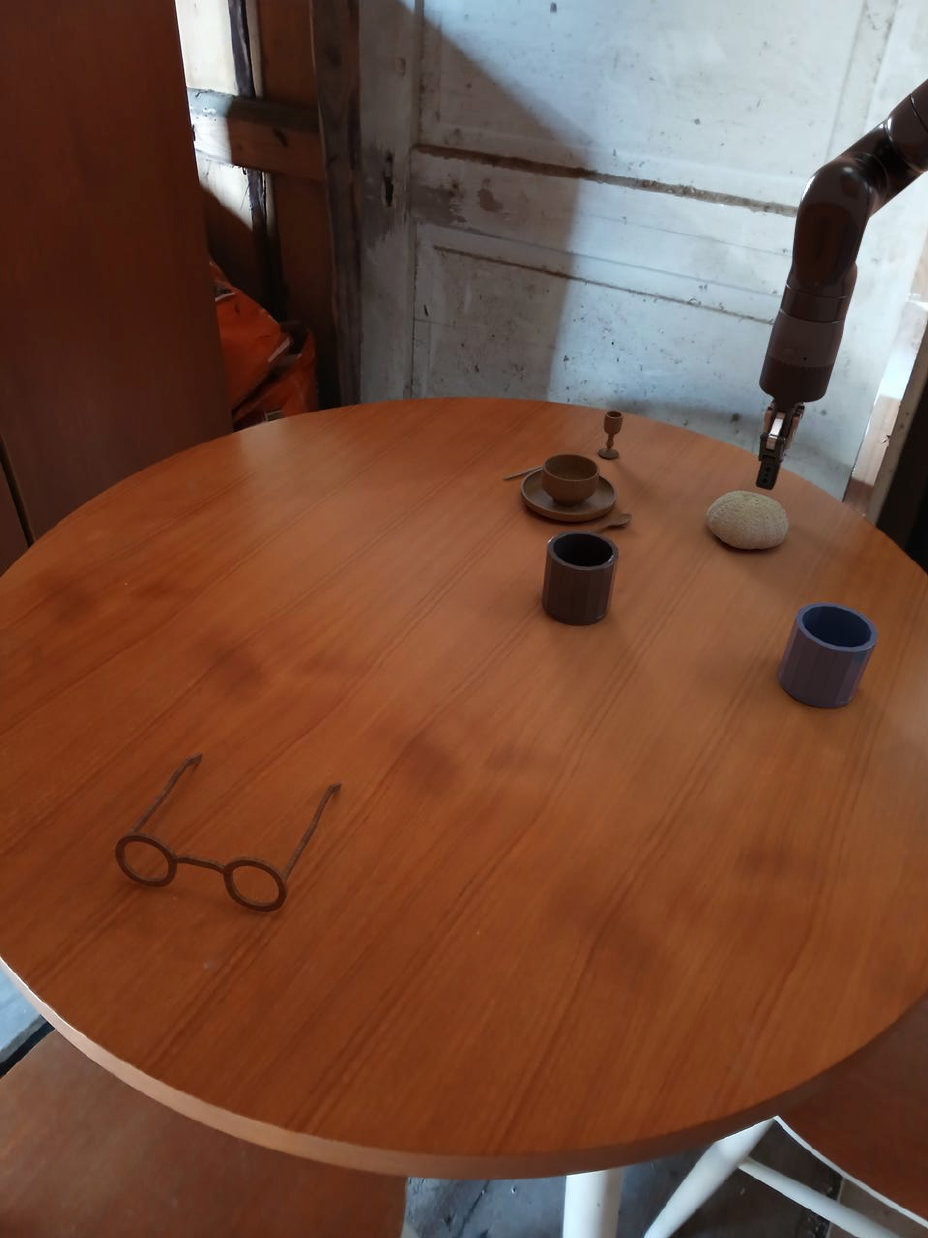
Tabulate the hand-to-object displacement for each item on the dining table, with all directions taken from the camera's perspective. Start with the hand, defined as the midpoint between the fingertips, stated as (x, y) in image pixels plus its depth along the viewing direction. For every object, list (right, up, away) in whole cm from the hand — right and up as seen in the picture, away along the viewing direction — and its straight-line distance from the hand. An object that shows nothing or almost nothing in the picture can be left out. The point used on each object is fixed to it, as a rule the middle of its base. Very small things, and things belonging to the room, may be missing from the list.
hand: (764, 486), depth 112 cm
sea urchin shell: (-4, -7, -4) cm, 9 cm away
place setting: (-21, -1, +2) cm, 21 cm away
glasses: (-55, -33, -41) cm, 76 cm away
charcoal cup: (-26, -15, -16) cm, 34 cm away
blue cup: (-3, -23, -25) cm, 34 cm away
